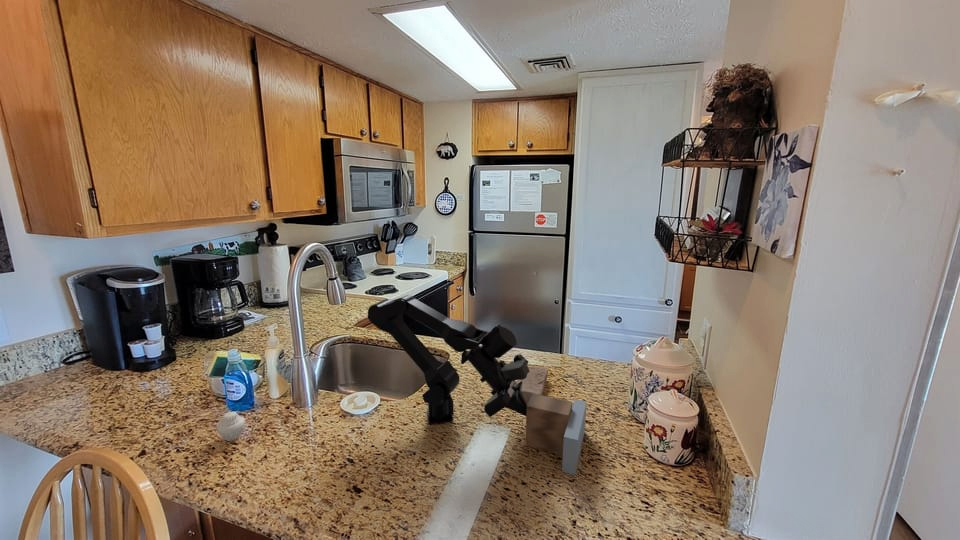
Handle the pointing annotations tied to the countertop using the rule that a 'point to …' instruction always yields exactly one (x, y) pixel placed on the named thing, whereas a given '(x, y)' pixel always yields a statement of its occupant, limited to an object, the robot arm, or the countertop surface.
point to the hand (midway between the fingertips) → (528, 414)
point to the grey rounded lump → (231, 426)
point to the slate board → (574, 437)
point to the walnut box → (547, 423)
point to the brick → (534, 382)
